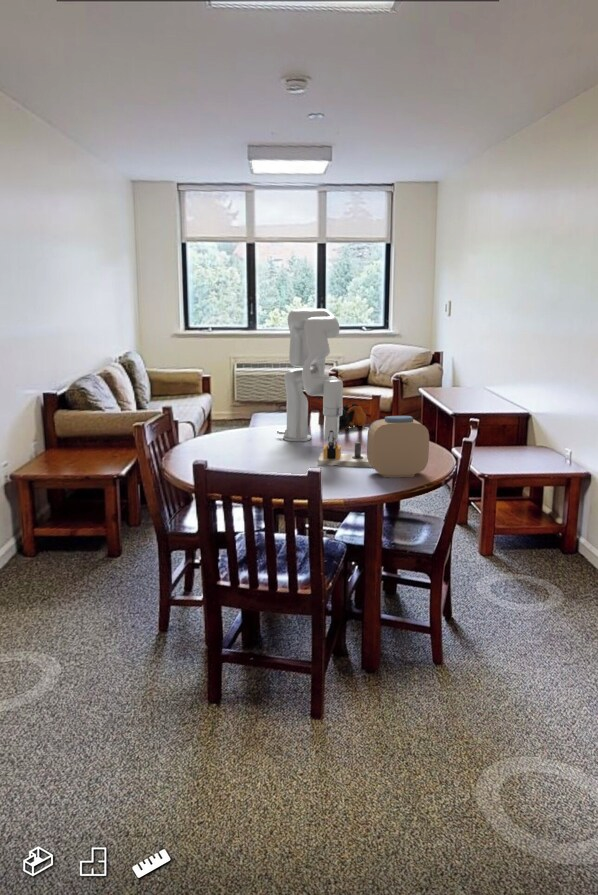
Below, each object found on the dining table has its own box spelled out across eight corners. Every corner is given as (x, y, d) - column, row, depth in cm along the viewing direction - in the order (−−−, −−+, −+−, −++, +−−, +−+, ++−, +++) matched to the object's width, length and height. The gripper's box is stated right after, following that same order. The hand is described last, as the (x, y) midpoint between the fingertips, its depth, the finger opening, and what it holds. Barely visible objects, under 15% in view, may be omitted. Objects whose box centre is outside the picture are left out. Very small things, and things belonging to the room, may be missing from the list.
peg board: (317, 465, 265) (318, 445, 263) (320, 457, 276) (321, 438, 275) (375, 467, 262) (375, 446, 260) (375, 459, 274) (376, 440, 272)
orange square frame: (323, 458, 267) (323, 448, 266) (324, 454, 273) (324, 444, 272) (339, 459, 266) (339, 449, 265) (340, 455, 272) (340, 445, 271)
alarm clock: (419, 470, 258) (422, 413, 253) (427, 476, 249) (430, 418, 244) (366, 471, 256) (367, 414, 251) (372, 478, 246) (373, 419, 241)
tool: (329, 444, 331) (320, 417, 325) (359, 421, 343) (351, 394, 336) (341, 447, 326) (332, 419, 319) (371, 423, 337) (363, 396, 331)
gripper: (325, 407, 274) (324, 450, 278) (320, 415, 257) (320, 461, 262) (343, 407, 273) (343, 451, 277) (340, 415, 257) (340, 462, 261)
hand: (332, 455), depth 269 cm, fingers closed on orange square frame, 6 cm apart
